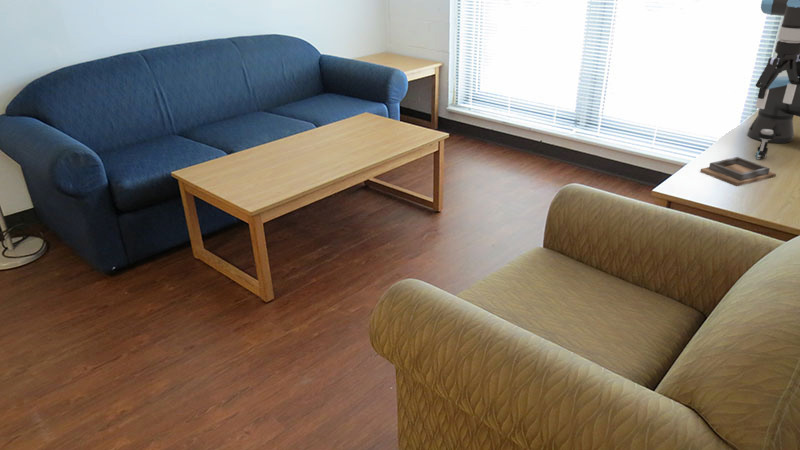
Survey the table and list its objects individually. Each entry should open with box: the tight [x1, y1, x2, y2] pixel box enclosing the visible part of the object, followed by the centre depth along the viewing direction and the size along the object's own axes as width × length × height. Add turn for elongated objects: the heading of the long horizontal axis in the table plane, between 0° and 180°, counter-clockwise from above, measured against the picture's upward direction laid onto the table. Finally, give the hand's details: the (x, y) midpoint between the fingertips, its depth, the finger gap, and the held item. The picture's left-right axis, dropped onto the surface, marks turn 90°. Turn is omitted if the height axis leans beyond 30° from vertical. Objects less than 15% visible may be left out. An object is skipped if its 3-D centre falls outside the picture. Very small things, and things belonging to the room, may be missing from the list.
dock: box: [699, 156, 777, 187], centre depth 197 cm, size 18×14×3 cm
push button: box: [755, 129, 776, 160], centre depth 208 cm, size 7×5×10 cm
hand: (773, 105), depth 202 cm, fingers open, 13 cm apart
